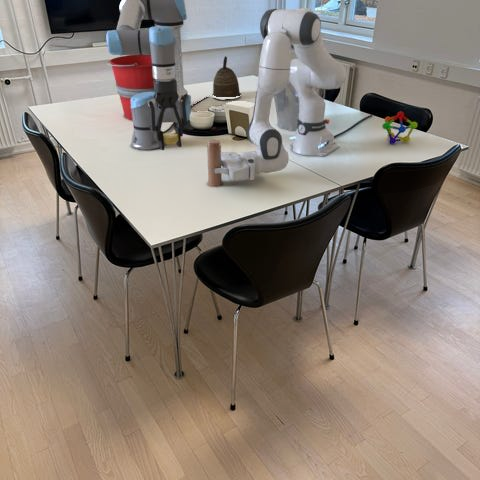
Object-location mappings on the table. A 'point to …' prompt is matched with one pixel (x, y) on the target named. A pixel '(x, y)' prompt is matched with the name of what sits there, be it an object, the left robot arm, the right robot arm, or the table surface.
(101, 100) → the table surface
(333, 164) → the table surface
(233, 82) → the bell
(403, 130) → the educational toy
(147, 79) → the bucket
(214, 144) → the jar
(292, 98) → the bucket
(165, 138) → the lid
